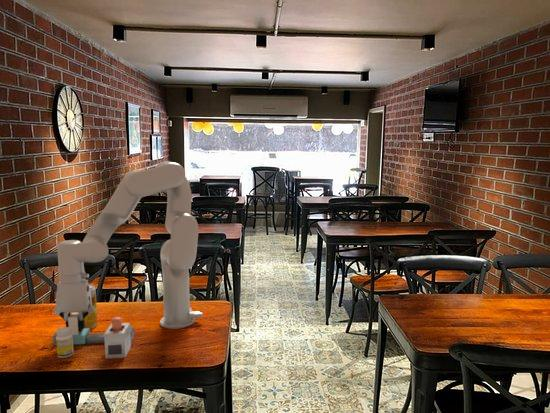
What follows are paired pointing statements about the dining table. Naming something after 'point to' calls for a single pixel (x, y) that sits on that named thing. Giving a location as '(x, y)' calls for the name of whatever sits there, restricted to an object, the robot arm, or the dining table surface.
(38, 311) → the dining table surface
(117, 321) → the button
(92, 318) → the beer can
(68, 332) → the supplement bottle
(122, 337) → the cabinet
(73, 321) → the carriage
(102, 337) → the rail
